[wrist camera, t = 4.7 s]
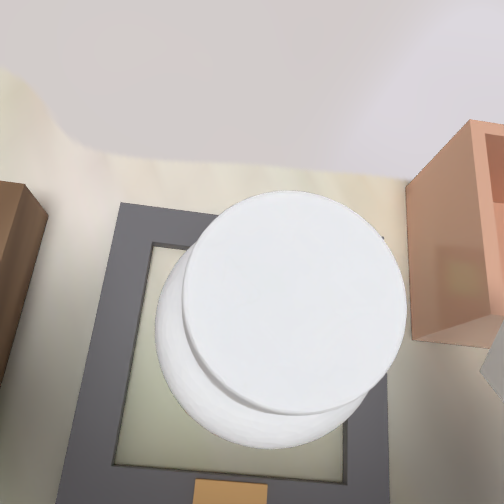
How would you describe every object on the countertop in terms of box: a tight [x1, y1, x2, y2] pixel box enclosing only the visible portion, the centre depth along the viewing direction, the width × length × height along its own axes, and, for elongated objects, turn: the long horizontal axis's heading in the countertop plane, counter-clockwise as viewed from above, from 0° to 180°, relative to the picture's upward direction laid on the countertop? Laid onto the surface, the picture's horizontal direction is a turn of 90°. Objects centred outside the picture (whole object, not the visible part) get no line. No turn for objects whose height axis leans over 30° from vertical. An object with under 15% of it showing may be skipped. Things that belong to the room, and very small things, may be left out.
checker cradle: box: [55, 202, 390, 504], centre depth 16 cm, size 11×11×1 cm
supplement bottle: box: [155, 191, 407, 449], centre depth 12 cm, size 5×5×10 cm
